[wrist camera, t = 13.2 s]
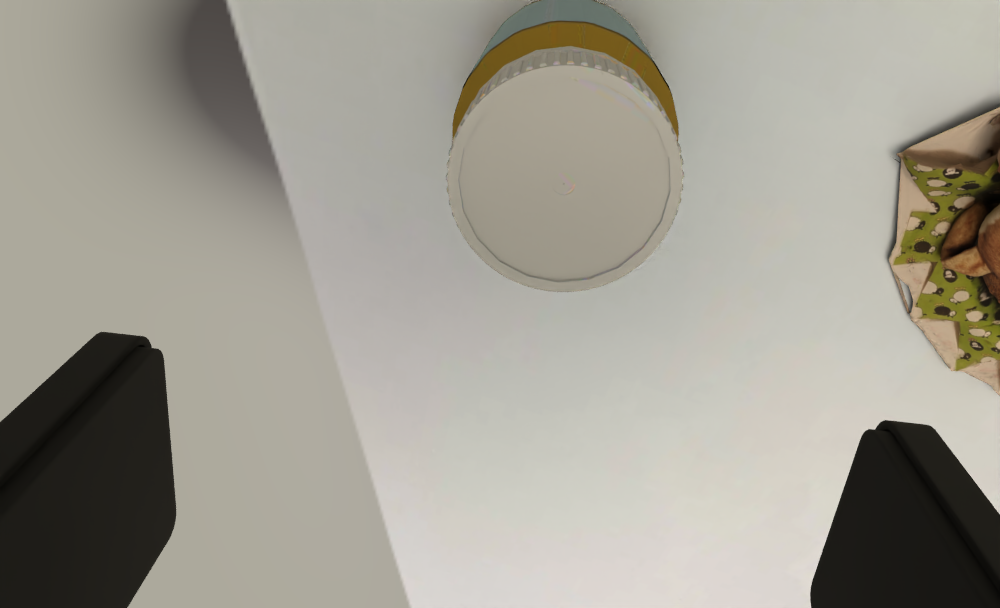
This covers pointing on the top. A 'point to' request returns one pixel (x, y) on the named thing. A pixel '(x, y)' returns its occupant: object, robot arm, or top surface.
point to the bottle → (565, 149)
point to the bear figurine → (954, 243)
